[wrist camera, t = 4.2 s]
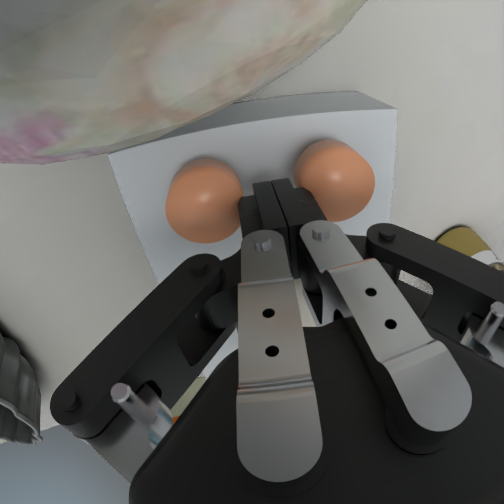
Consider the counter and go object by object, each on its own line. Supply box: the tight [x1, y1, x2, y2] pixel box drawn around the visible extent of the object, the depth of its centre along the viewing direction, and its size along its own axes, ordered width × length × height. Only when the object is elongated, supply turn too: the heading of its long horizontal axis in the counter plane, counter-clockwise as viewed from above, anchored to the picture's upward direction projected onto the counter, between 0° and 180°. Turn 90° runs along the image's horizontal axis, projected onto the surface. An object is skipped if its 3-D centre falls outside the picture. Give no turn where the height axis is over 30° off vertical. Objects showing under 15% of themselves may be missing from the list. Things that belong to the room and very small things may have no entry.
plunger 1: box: [165, 159, 244, 243], centre depth 14 cm, size 3×3×4 cm
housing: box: [108, 91, 397, 380], centre depth 21 cm, size 20×14×5 cm
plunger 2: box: [294, 140, 375, 222], centre depth 14 cm, size 3×3×4 cm
